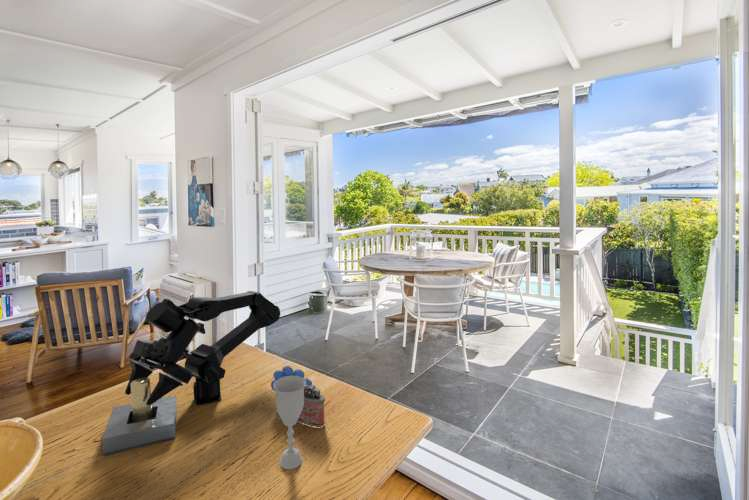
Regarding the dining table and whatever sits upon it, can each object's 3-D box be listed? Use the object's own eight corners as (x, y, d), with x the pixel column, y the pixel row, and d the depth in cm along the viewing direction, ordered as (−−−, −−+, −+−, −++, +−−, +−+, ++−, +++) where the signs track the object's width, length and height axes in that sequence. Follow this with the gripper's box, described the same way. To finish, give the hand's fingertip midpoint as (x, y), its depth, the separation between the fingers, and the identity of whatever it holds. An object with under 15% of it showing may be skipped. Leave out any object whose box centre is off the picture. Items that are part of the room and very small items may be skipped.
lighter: (327, 423, 96) (327, 386, 95) (320, 430, 93) (320, 392, 92) (301, 415, 100) (301, 379, 98) (293, 422, 97) (293, 385, 95)
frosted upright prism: (157, 424, 94) (153, 378, 92) (144, 433, 90) (140, 386, 88) (143, 421, 95) (139, 376, 93) (130, 431, 91) (126, 384, 89)
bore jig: (176, 409, 102) (175, 395, 101) (175, 438, 89) (174, 423, 89) (114, 421, 95) (113, 407, 95) (103, 455, 83) (102, 438, 82)
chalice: (277, 450, 86) (276, 375, 83) (308, 449, 86) (307, 375, 84) (272, 473, 78) (270, 392, 76) (304, 472, 79) (304, 391, 77)
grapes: (266, 415, 99) (265, 372, 98) (274, 402, 106) (273, 361, 104) (309, 417, 99) (309, 374, 97) (315, 403, 105) (314, 363, 104)
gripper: (133, 319, 97) (88, 376, 89) (177, 333, 88) (131, 398, 80) (165, 339, 105) (126, 393, 97) (208, 353, 96) (169, 415, 88)
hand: (136, 399), depth 90 cm, fingers open, 9 cm apart
